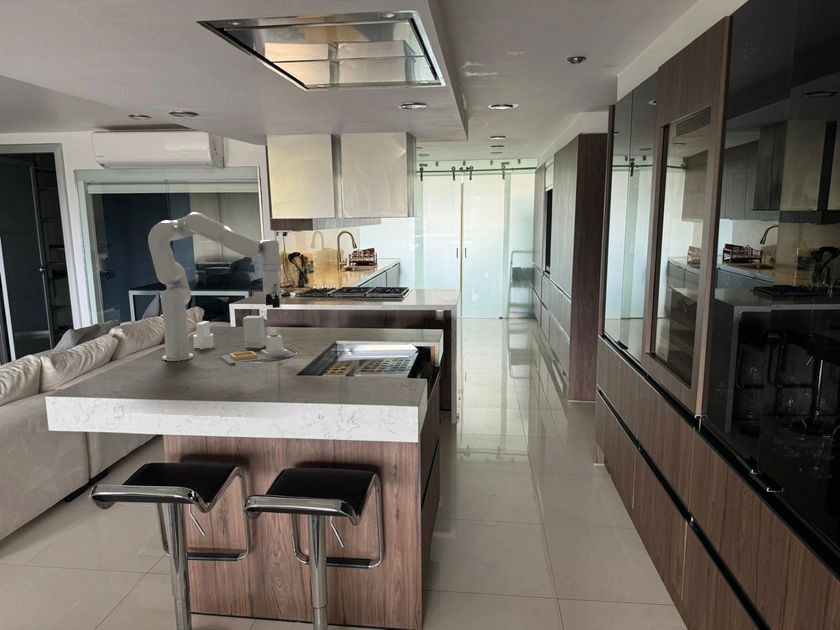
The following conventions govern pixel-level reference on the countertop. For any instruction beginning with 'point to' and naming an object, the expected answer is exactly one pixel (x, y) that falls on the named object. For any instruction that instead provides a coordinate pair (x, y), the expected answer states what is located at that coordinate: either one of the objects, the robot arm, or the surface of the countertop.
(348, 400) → the countertop surface
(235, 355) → the socket panel
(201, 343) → the base with upright slab
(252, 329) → the skincare box
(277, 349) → the plug
